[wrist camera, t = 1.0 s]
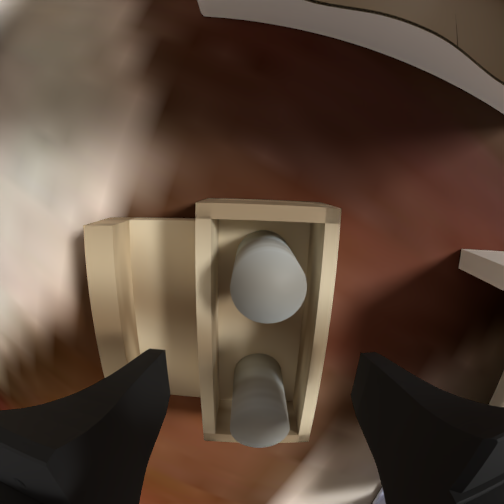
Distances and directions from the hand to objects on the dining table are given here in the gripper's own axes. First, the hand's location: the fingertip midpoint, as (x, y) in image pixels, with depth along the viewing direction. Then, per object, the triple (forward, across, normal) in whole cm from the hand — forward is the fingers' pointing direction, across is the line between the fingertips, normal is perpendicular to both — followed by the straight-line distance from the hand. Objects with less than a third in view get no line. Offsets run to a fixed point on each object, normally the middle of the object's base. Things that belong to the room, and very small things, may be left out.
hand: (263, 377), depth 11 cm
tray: (+6, +3, 0) cm, 6 cm away
